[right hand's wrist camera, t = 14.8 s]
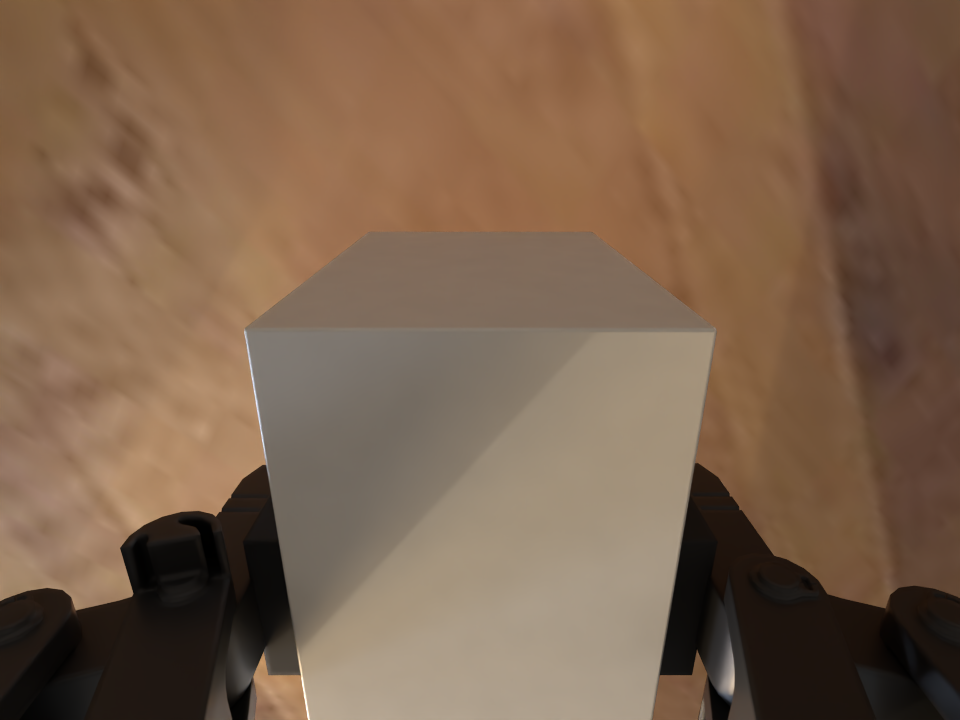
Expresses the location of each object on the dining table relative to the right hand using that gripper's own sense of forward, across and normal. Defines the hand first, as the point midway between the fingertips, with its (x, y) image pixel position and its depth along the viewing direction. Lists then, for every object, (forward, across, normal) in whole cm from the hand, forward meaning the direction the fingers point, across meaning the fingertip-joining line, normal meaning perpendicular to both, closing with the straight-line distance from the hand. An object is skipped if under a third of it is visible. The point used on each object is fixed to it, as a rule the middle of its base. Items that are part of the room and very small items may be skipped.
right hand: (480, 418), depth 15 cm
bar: (+1, 0, -32) cm, 32 cm away
